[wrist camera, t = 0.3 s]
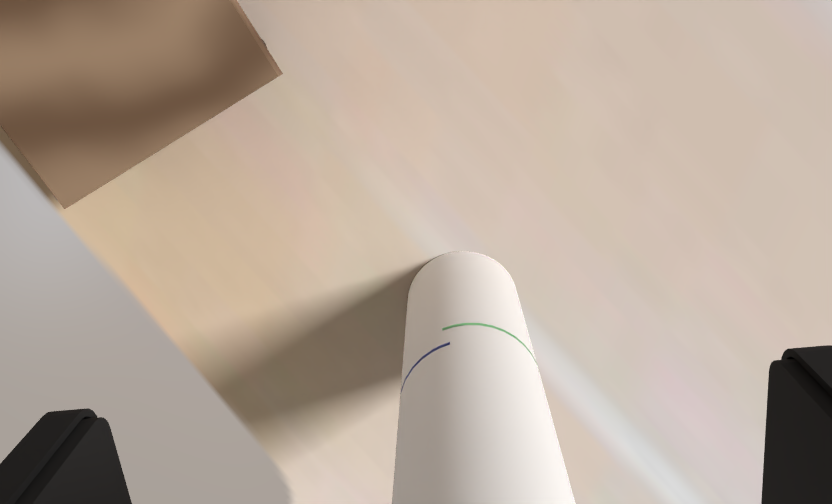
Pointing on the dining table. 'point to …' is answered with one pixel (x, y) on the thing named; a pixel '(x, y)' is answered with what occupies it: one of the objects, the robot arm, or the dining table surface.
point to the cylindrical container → (473, 394)
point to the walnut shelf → (118, 80)
